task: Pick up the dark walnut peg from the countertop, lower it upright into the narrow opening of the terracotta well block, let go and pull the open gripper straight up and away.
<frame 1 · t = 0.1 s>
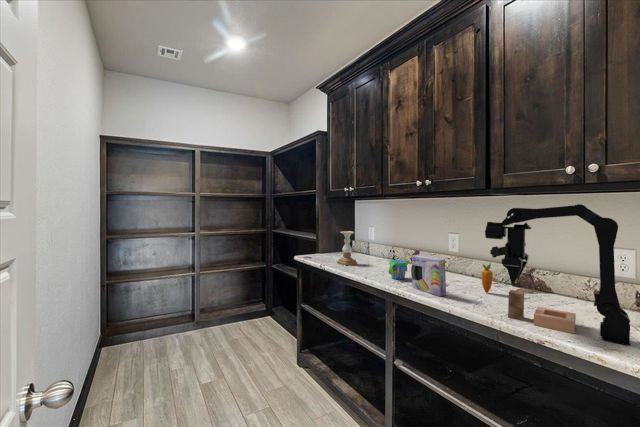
hand: (515, 280, 119), 15 cm above the worktop, tool pointing down, fingers open, 9 cm apart
snack cup: (398, 278, 183), on the worktop
terracotta well: (554, 324, 113), on the worktop
walnut peg: (515, 317, 120), on the worktop
candle holder: (346, 264, 228), on the worktop
cake pan box: (427, 292, 156), on the worktop
carrot: (486, 293, 154), on the worktop
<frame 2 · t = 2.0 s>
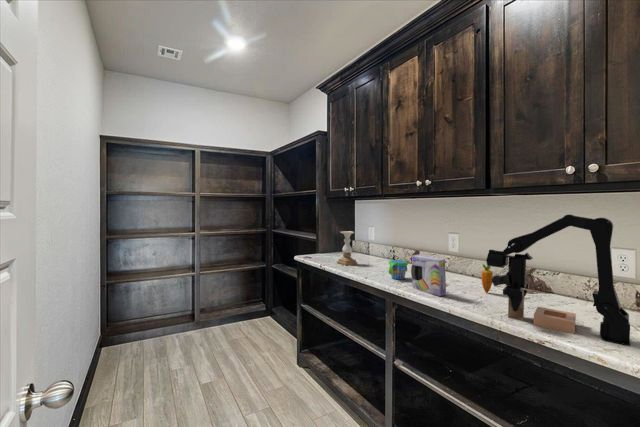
hand: (516, 309, 120), 3 cm above the worktop, tool pointing down, fingers closed on walnut peg, 4 cm apart
walnut peg: (515, 317, 120), on the worktop, touching gripper
everything else where it was.
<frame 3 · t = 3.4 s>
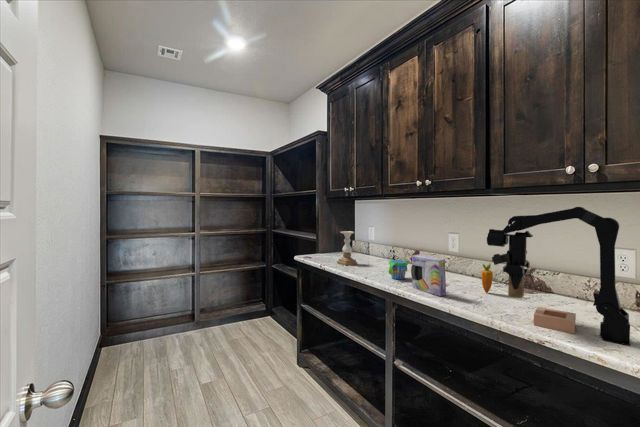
hand: (516, 288, 120), 11 cm above the worktop, tool pointing down, fingers closed on walnut peg, 4 cm apart
walnut peg: (516, 295, 120), point 8 cm above the worktop, touching gripper
everything else where it was.
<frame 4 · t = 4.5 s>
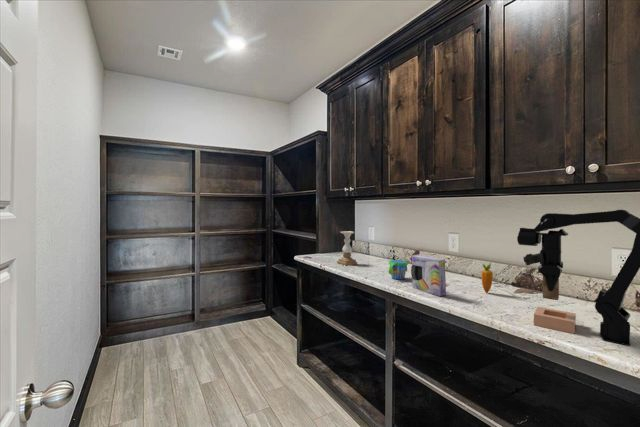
hand: (551, 289, 114), 13 cm above the worktop, tool pointing down, fingers closed on walnut peg, 4 cm apart
walnut peg: (550, 297, 114), point 10 cm above the worktop, touching gripper
everything else where it was.
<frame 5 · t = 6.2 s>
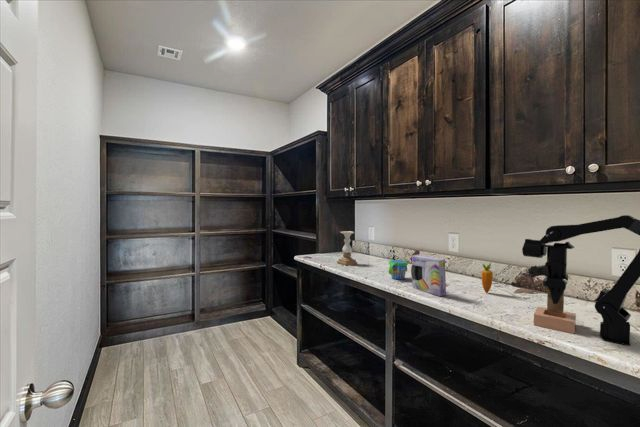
hand: (555, 302, 113), 8 cm above the worktop, tool pointing down, fingers closed on walnut peg, 4 cm apart
walnut peg: (555, 310, 113), point 5 cm above the worktop, touching gripper
everything else where it was.
when the fingers open (5 cm above the worktop, at t = 7.2 s): walnut peg drops 3 cm, resting in terracotta well.
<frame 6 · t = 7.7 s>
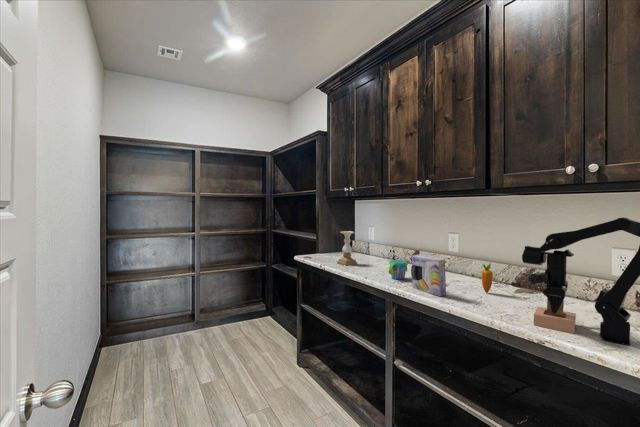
hand: (555, 309, 113), 5 cm above the worktop, tool pointing down, fingers open, 9 cm apart
walnut peg: (554, 324, 113), resting in terracotta well
everything else where it was.
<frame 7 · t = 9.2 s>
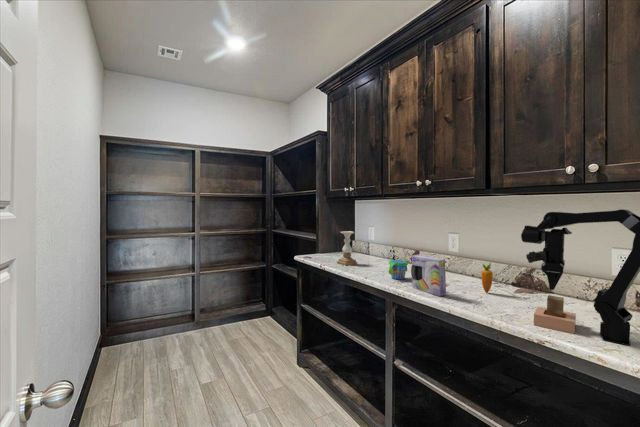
hand: (552, 287, 115), 13 cm above the worktop, tool pointing down, fingers open, 9 cm apart
nothing on the worktop moved.
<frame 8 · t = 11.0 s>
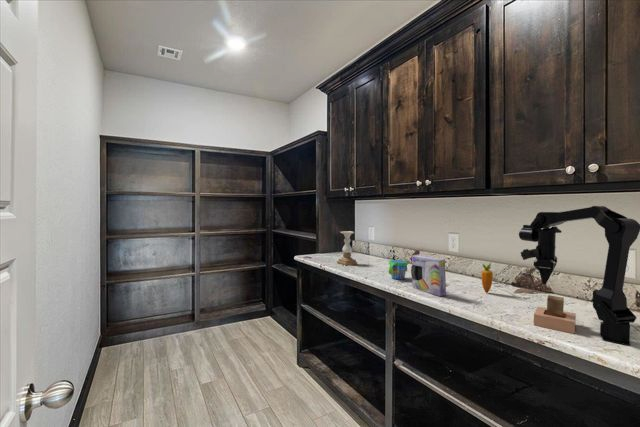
hand: (545, 282, 124), 13 cm above the worktop, tool pointing down, fingers open, 9 cm apart
nothing on the worktop moved.
at the end: walnut peg 0.0 cm off-centre on the terracotta well, point 0.0 cm above the terracotta well's base; walnut peg tilted 0°; the gripper is holding nothing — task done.
